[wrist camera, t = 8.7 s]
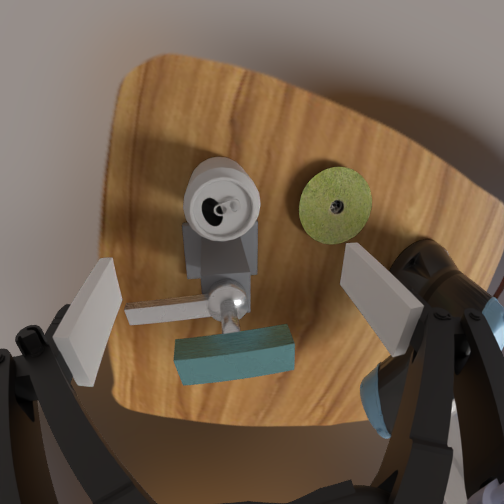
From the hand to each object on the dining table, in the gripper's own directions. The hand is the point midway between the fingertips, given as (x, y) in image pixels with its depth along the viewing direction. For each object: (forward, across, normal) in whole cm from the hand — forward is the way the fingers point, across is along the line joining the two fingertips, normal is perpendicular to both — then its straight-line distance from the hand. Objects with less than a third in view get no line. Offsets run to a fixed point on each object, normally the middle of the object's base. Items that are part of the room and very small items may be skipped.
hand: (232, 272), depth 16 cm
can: (+24, 0, 0) cm, 24 cm away
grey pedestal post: (+24, 0, +9) cm, 25 cm away
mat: (+24, -16, +3) cm, 29 cm away
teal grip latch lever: (+11, +3, +9) cm, 15 cm away
